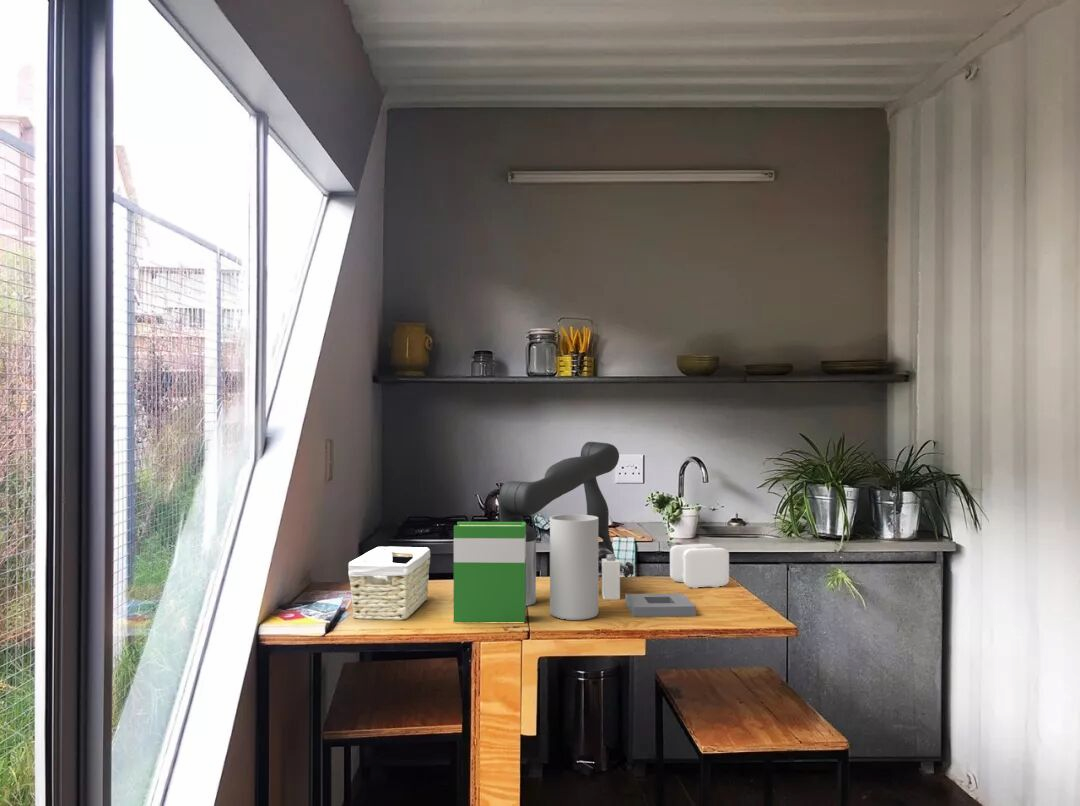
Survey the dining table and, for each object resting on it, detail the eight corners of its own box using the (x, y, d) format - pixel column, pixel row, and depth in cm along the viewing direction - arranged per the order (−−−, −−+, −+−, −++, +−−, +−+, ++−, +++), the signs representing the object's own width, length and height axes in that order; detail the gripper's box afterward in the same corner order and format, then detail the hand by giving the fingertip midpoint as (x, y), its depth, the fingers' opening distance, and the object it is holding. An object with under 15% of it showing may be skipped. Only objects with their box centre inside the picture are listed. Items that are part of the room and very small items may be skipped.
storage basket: (407, 622, 190) (407, 563, 190) (344, 620, 191) (345, 561, 192) (432, 599, 213) (432, 546, 213) (376, 598, 215) (376, 545, 215)
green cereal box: (453, 622, 189) (453, 526, 189) (457, 615, 196) (457, 521, 197) (524, 623, 189) (524, 526, 189) (525, 615, 196) (525, 522, 196)
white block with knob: (603, 599, 213) (603, 556, 213) (601, 595, 217) (601, 553, 218) (619, 599, 213) (619, 556, 213) (617, 595, 218) (617, 553, 218)
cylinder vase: (544, 619, 192) (544, 520, 193) (556, 607, 204) (556, 513, 205) (593, 622, 189) (593, 521, 189) (602, 610, 201) (602, 515, 202)
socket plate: (633, 616, 194) (633, 607, 195) (625, 603, 208) (625, 594, 208) (695, 616, 195) (695, 606, 195) (683, 602, 209) (683, 593, 209)
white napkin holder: (682, 589, 225) (682, 550, 225) (669, 582, 235) (669, 544, 235) (729, 587, 228) (729, 548, 228) (714, 579, 238) (714, 542, 238)
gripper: (580, 550, 229) (586, 560, 213) (627, 549, 230) (636, 560, 214) (580, 575, 229) (586, 587, 213) (627, 574, 230) (636, 586, 214)
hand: (611, 573), depth 214 cm, fingers open, 8 cm apart
